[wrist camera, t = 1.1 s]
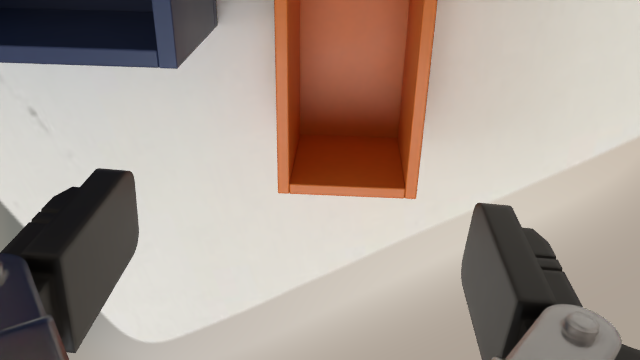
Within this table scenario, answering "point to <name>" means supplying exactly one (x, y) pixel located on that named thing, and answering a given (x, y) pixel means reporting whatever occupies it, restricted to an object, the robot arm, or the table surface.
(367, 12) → the small bin
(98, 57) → the tote
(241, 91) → the table surface
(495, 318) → the robot arm
